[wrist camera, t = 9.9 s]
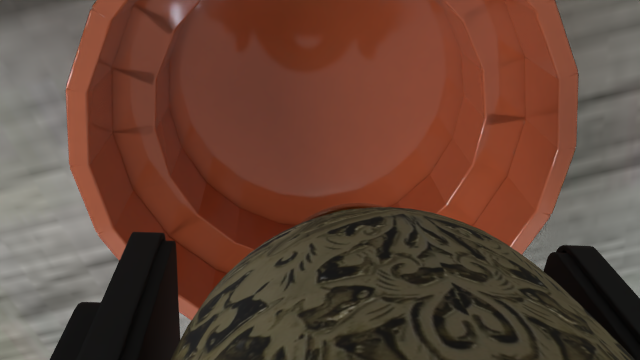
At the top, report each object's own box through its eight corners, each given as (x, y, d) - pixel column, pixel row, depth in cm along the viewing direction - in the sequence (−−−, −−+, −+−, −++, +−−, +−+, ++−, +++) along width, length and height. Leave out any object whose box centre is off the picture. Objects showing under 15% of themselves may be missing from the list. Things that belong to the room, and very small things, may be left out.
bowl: (312, -236, 18) (325, -290, 13) (583, 86, 23) (673, 144, 18) (38, 103, 22) (-39, 170, 17) (320, 311, 28) (329, 412, 22)
